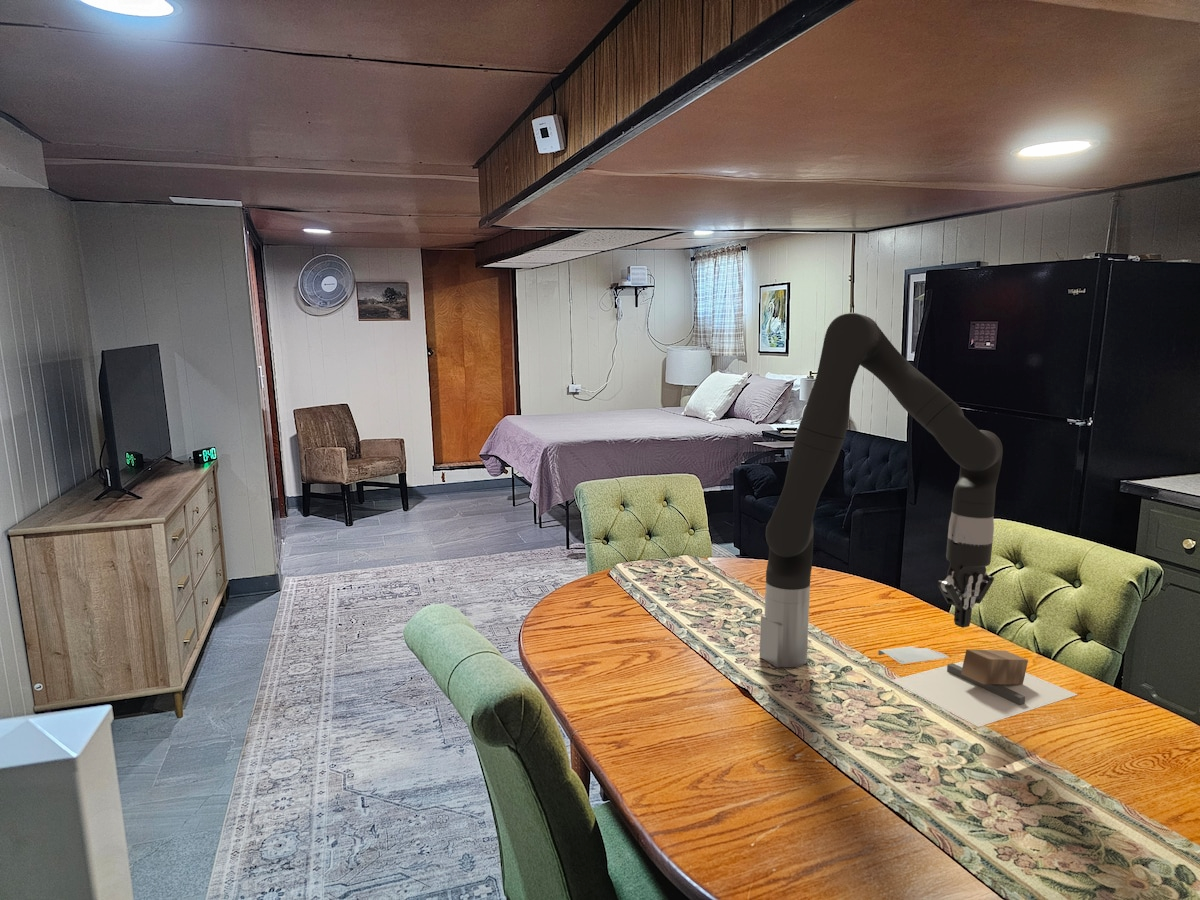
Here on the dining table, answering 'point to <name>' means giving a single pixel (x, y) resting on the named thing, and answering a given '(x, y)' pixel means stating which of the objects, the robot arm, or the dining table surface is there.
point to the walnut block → (994, 667)
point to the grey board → (981, 694)
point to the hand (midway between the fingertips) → (961, 625)
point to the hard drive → (912, 654)
